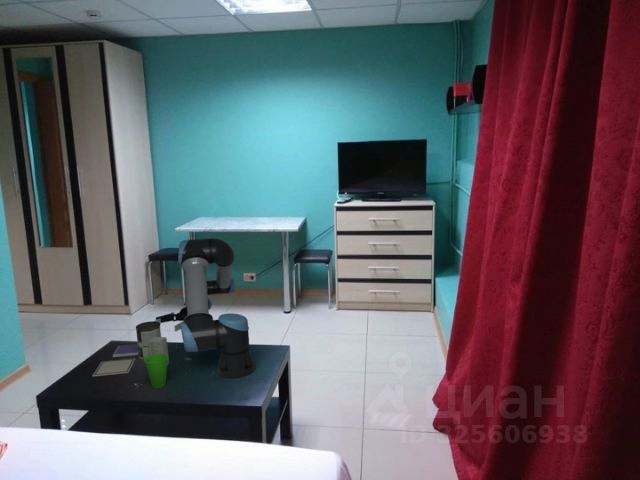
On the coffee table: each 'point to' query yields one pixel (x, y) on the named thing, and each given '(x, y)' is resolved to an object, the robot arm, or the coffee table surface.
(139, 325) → the coffee can
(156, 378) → the cup
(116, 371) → the cream square tile
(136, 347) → the ink pad
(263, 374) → the coffee table surface
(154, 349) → the skincare box
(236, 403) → the coffee table surface
